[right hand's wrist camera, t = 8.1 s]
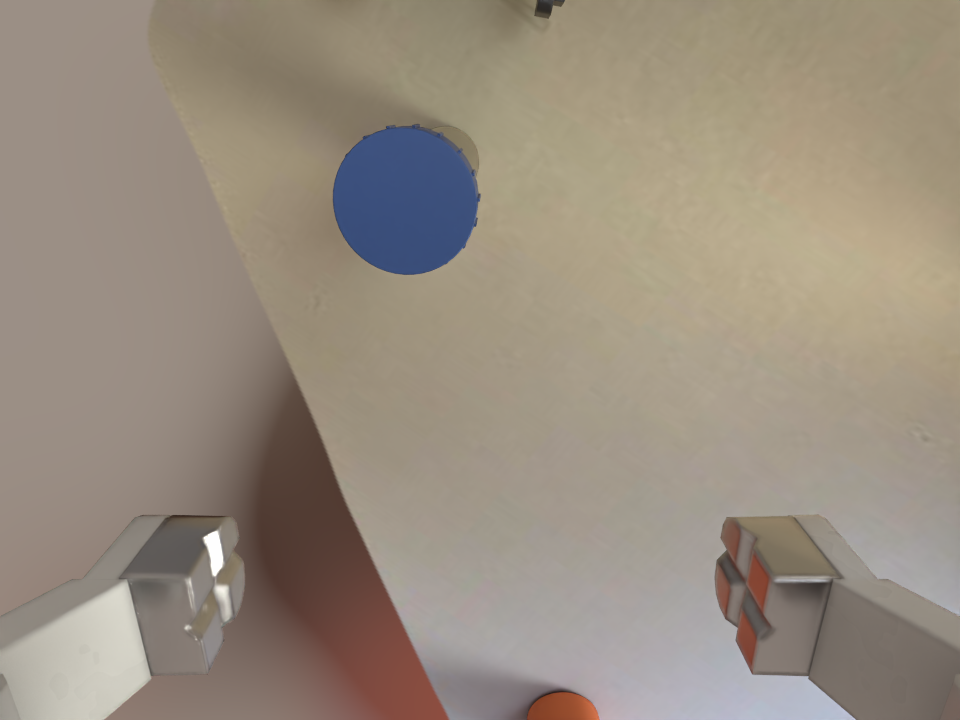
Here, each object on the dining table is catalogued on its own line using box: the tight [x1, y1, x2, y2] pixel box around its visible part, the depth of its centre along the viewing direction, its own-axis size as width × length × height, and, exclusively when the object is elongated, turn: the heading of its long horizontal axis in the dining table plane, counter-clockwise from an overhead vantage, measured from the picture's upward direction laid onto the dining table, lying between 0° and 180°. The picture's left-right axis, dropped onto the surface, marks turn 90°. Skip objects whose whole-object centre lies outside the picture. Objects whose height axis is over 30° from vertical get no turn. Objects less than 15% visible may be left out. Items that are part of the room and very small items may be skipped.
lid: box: [333, 124, 481, 275], centre depth 23 cm, size 5×5×2 cm
